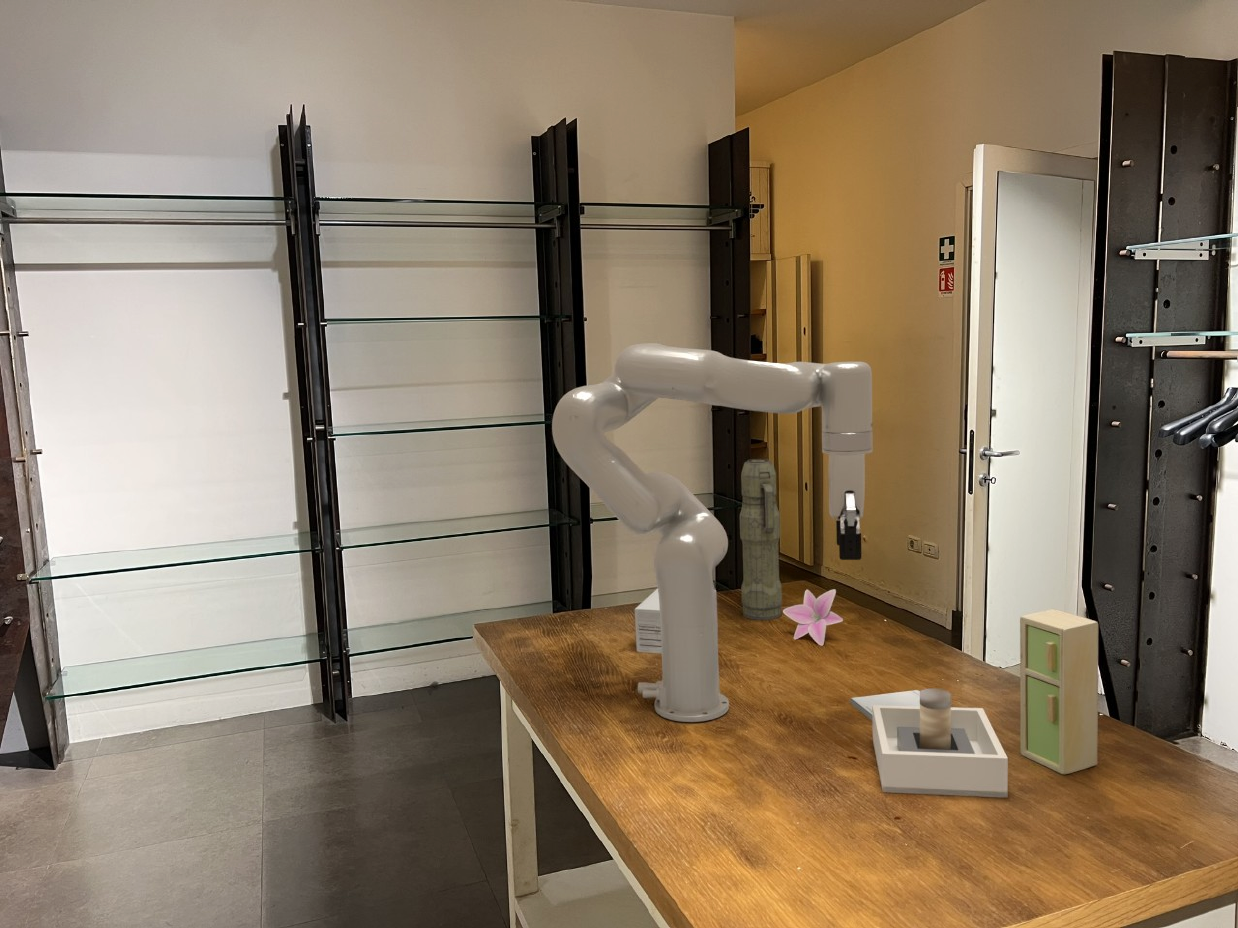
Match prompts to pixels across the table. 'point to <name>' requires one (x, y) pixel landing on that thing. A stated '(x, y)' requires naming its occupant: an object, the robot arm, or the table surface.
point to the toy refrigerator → (1059, 690)
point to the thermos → (760, 541)
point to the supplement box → (649, 624)
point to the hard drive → (885, 701)
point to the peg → (935, 719)
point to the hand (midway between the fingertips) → (848, 551)
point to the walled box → (939, 755)
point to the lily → (813, 615)
